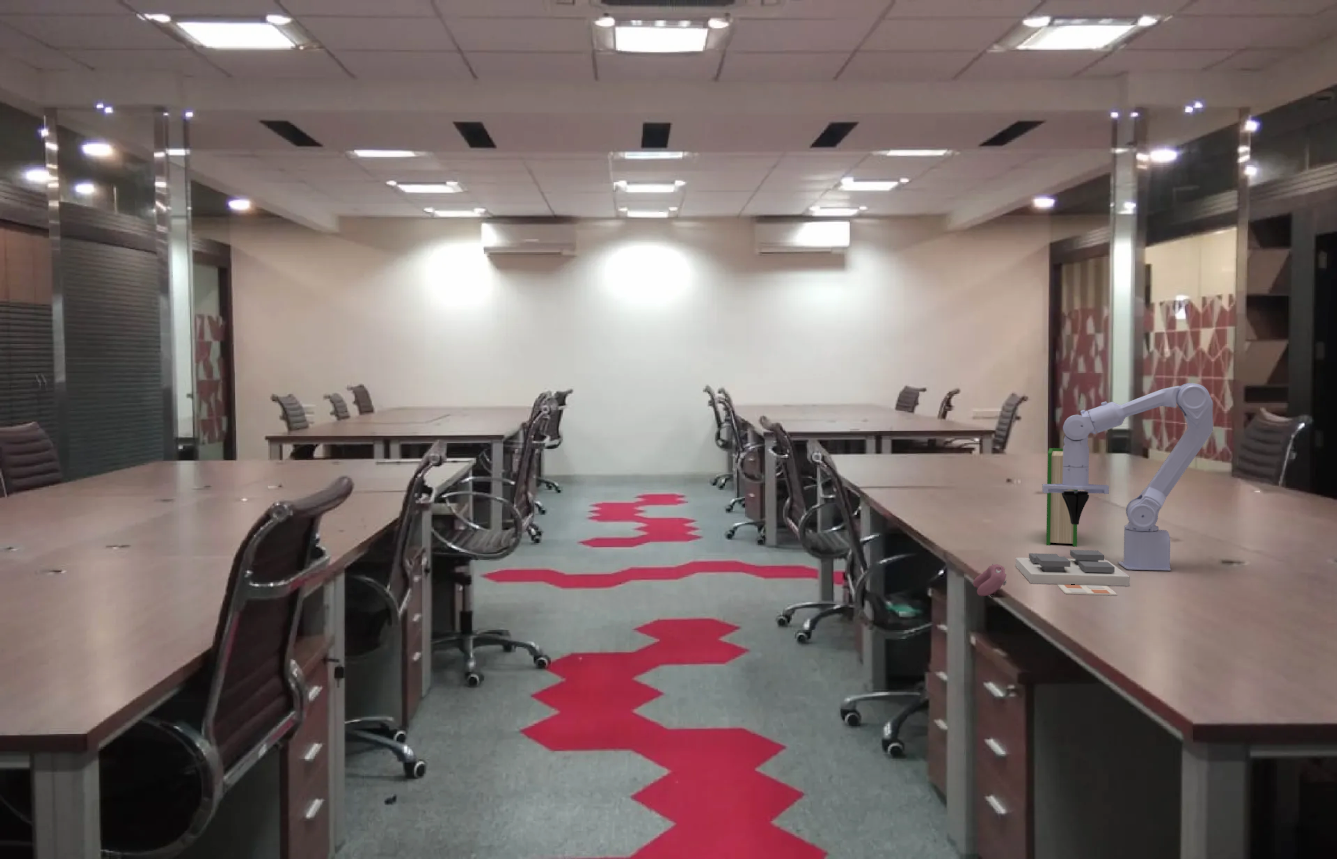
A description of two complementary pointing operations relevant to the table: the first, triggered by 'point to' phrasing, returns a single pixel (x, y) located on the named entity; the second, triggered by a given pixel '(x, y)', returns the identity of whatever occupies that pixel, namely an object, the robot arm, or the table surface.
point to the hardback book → (1058, 504)
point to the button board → (1071, 575)
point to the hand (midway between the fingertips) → (1074, 523)
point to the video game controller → (990, 580)
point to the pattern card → (1086, 589)
